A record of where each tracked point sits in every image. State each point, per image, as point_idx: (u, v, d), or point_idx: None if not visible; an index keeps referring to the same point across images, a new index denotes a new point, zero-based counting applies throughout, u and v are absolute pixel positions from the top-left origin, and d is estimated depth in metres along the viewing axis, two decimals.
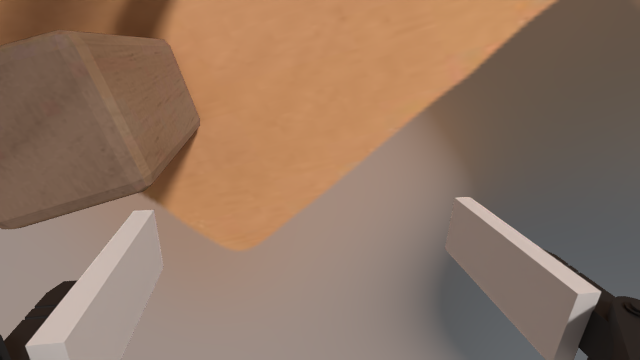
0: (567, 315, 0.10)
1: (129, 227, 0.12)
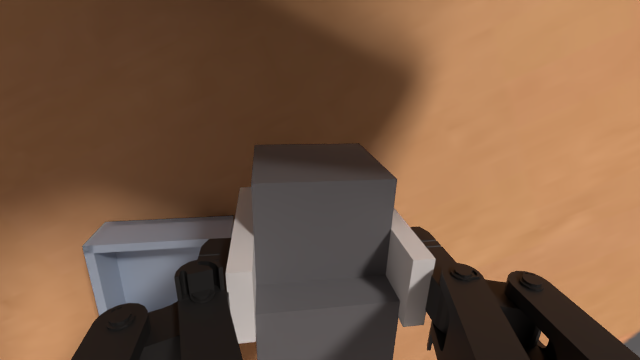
0: (410, 280, 0.11)
1: (245, 199, 0.14)
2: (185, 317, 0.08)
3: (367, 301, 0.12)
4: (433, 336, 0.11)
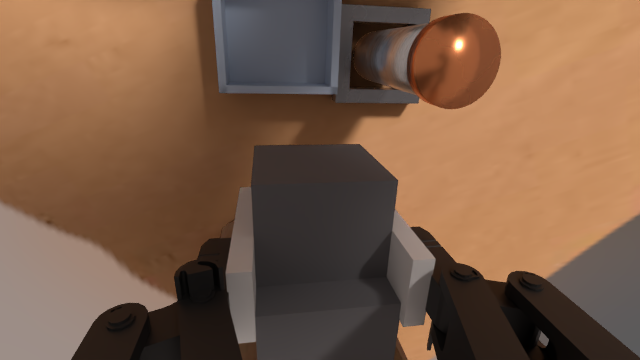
0: (410, 280, 0.11)
1: (245, 199, 0.14)
2: (185, 317, 0.08)
3: (368, 303, 0.12)
4: (433, 336, 0.11)
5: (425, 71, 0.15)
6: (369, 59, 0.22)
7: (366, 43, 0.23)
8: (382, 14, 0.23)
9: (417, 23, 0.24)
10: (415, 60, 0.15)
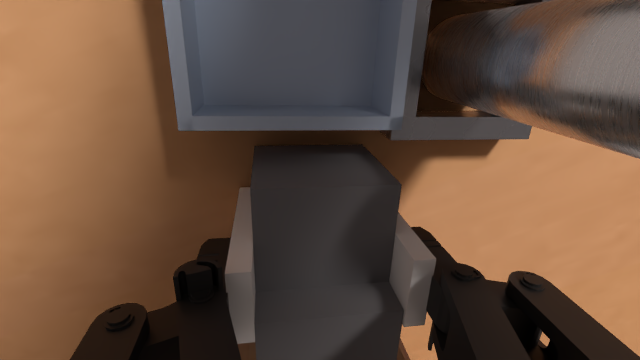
0: (410, 280, 0.11)
1: (245, 199, 0.14)
2: (184, 317, 0.08)
3: (370, 310, 0.11)
4: (434, 336, 0.11)
5: None
6: (477, 66, 0.11)
7: (460, 35, 0.12)
8: None
9: None
10: None
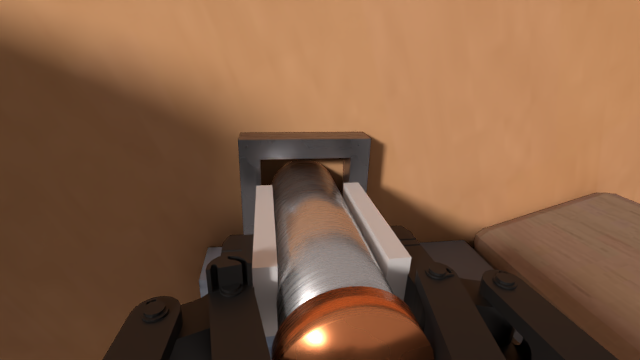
0: (386, 278, 0.11)
1: (263, 197, 0.15)
2: (215, 309, 0.09)
3: None
4: None
5: None
6: None
7: None
8: (251, 206, 0.17)
9: (259, 157, 0.16)
10: None
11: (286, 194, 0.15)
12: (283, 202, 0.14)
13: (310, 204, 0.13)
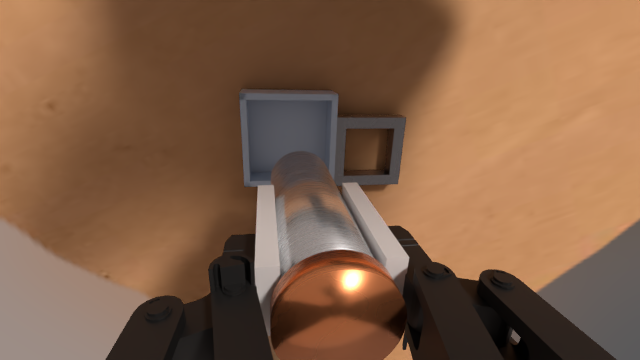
0: None
1: (264, 197, 0.15)
2: (218, 308, 0.09)
3: None
4: (408, 336, 0.11)
5: None
6: None
7: None
8: (368, 123, 0.31)
9: (395, 128, 0.31)
10: None
11: (284, 181, 0.16)
12: (281, 188, 0.16)
13: (305, 188, 0.15)
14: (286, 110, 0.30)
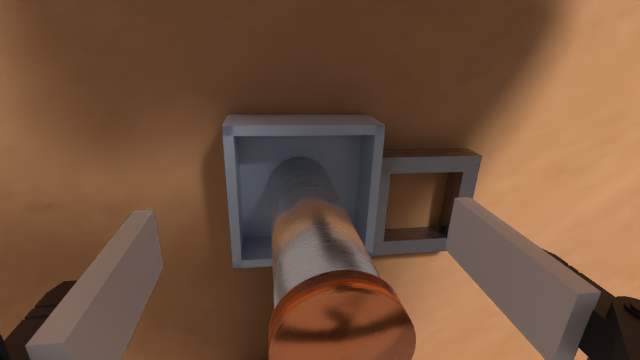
0: (567, 315, 0.10)
1: (129, 227, 0.12)
2: None
3: None
4: None
5: None
6: None
7: None
8: (425, 164, 0.20)
9: (465, 171, 0.20)
10: None
11: (283, 190, 0.16)
12: (280, 197, 0.15)
13: (305, 198, 0.14)
14: (299, 146, 0.19)
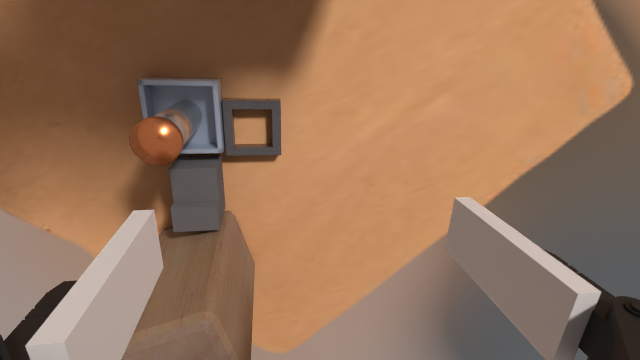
0: (567, 315, 0.10)
1: (129, 227, 0.12)
2: None
3: (206, 206, 0.37)
4: None
5: (163, 159, 0.29)
6: None
7: None
8: (249, 104, 0.39)
9: (272, 109, 0.39)
10: (158, 164, 0.29)
11: None
12: None
13: (168, 108, 0.33)
14: (183, 94, 0.38)
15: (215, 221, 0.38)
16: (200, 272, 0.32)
